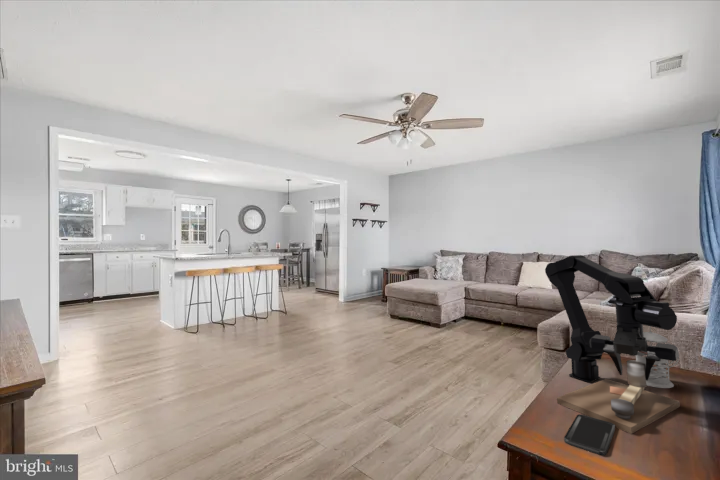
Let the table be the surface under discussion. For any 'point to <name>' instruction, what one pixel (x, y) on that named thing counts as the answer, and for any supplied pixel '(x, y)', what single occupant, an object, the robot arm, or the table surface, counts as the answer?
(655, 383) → the french press
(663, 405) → the board
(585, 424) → the phone
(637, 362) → the grey-ended beige bar
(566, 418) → the table surface
